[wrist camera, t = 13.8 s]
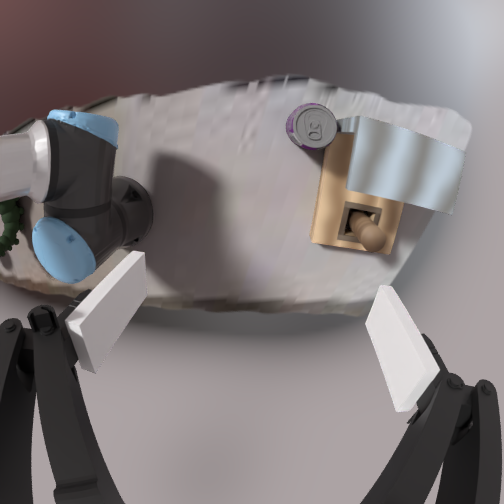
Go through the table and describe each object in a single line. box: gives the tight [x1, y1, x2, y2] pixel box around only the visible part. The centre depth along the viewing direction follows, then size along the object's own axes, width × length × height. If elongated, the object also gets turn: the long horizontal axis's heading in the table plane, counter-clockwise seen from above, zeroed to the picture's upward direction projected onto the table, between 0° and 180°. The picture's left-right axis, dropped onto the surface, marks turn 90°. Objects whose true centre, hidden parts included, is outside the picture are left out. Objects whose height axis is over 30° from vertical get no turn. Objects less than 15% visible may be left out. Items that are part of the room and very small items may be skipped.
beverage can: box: [286, 103, 337, 150], centre depth 41 cm, size 7×7×12 cm
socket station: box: [310, 116, 466, 254], centre depth 41 cm, size 16×22×20 cm
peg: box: [346, 208, 386, 252], centre depth 46 cm, size 4×4×12 cm
